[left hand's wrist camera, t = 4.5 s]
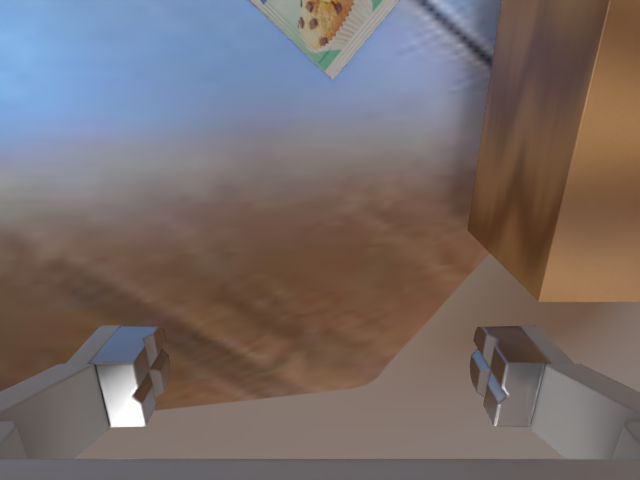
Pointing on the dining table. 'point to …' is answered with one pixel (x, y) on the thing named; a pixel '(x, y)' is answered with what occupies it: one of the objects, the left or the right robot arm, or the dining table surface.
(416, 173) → the dining table surface
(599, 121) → the box
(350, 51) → the baking ingredient package
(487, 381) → the left robot arm
